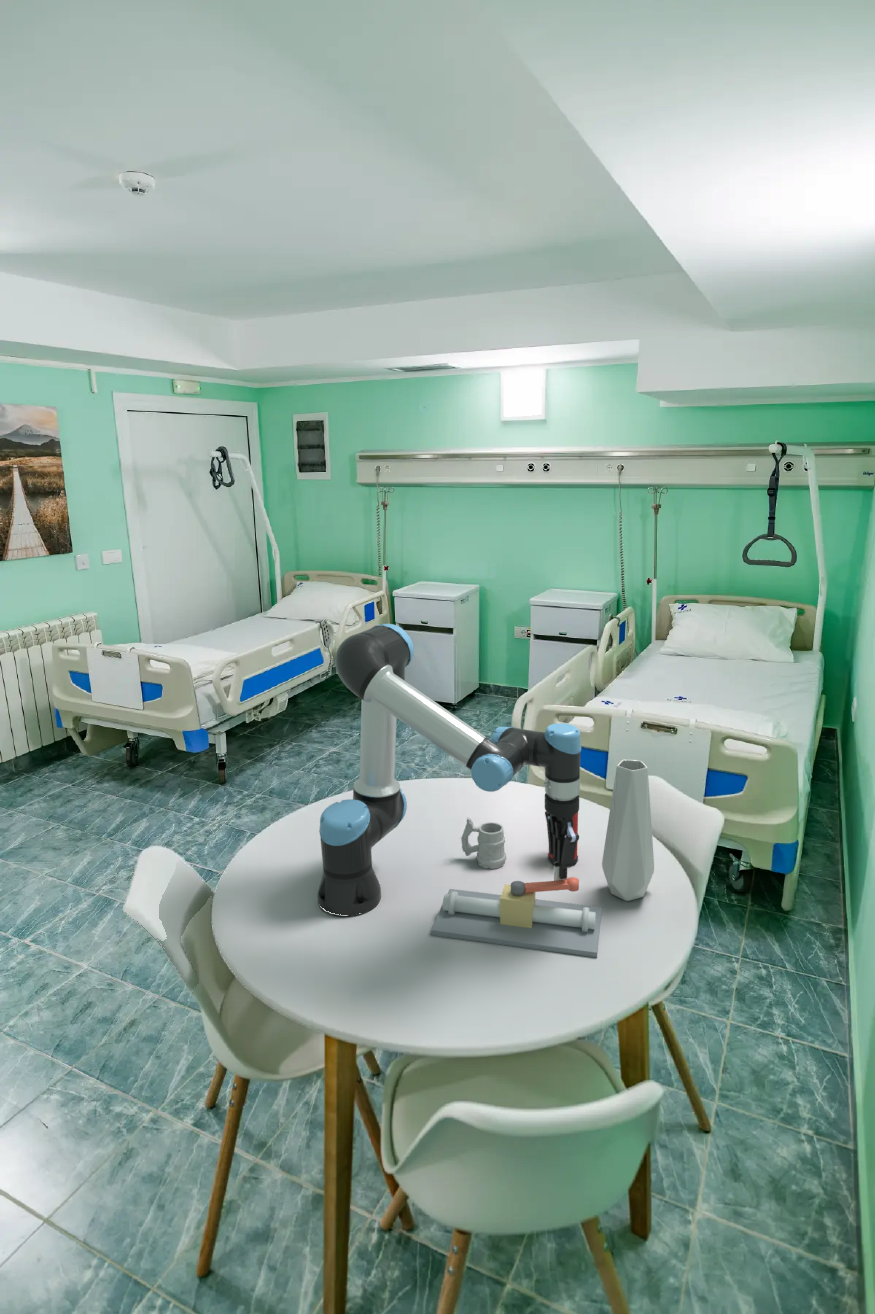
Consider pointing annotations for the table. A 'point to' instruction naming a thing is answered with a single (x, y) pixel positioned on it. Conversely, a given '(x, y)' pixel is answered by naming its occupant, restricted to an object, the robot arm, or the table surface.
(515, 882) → the lever
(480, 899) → the grey base plate
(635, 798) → the vase
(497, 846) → the mug
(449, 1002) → the table surface
